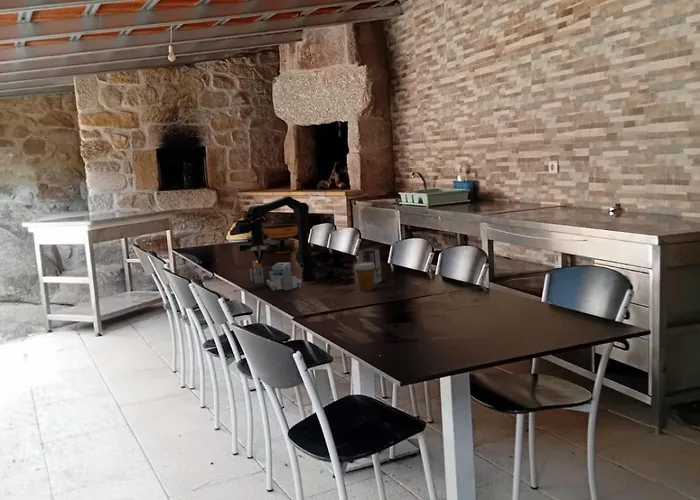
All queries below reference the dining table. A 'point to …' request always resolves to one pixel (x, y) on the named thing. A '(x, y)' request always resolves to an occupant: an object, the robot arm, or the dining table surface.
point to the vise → (261, 280)
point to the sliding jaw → (286, 281)
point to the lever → (256, 267)
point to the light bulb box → (280, 269)
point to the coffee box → (373, 257)
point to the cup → (281, 234)
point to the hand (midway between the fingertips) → (259, 263)
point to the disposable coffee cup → (365, 275)
